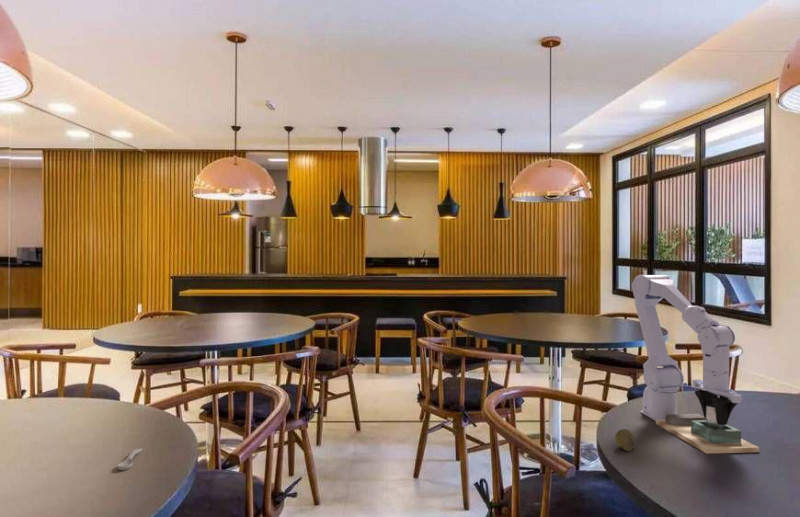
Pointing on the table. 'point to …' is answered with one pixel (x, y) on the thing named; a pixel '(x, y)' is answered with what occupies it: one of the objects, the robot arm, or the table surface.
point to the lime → (625, 439)
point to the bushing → (712, 418)
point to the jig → (706, 434)
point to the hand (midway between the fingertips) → (715, 421)
